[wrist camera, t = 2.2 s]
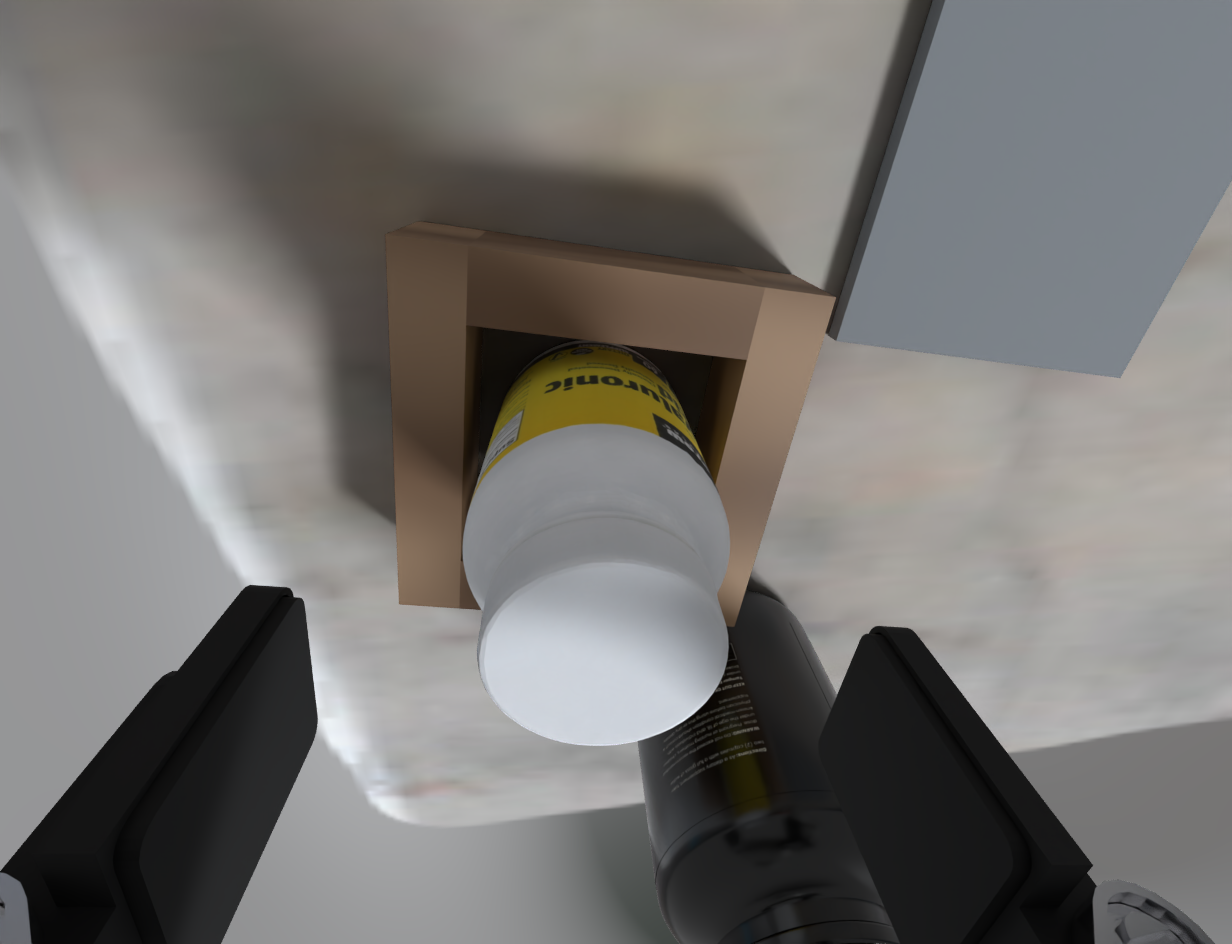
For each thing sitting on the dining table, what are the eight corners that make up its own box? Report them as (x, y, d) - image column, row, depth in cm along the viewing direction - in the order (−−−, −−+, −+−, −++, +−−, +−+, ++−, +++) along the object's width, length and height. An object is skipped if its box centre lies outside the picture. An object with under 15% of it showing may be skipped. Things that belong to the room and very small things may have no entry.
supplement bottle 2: (628, 716, 24) (669, 1152, 13) (627, 585, 21) (681, 1023, 10) (792, 706, 24) (958, 1124, 14) (816, 575, 21) (1057, 990, 11)
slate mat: (954, -70, 13) (970, -80, 12) (1303, 9, 14) (1331, 2, 13) (828, 335, 17) (836, 341, 16) (1104, 371, 18) (1120, 378, 17)
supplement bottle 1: (713, 386, 17) (847, 606, 9) (624, 522, 20) (663, 808, 11) (549, 298, 16) (519, 460, 7) (472, 456, 18) (378, 726, 9)
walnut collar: (418, 220, 15) (384, 234, 12) (793, 275, 16) (836, 297, 13) (423, 543, 19) (398, 604, 17) (713, 566, 21) (734, 626, 18)
